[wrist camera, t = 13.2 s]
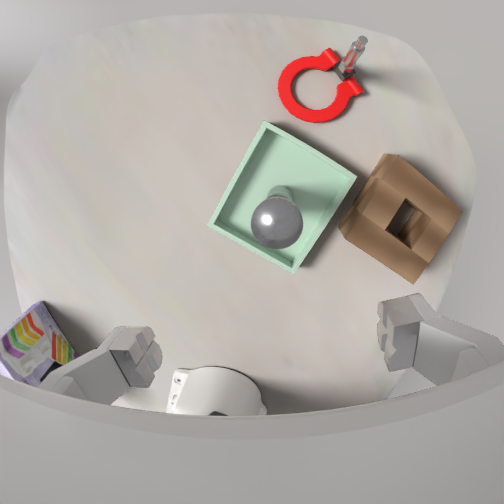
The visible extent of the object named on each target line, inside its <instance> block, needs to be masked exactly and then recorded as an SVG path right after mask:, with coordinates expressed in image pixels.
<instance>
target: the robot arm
mask: <svg viewBox="0 0 504 504" xmlns="http://www.w3.org/2000/svg"><path fill="white" fill-rule="evenodd" d="M378 315H379V317H380V321H379V322H378V324H377V336H378V342H379V346H380V349H381V350H382V351H384V352H385V355H384V360H385V362H386V365H387V367H388V370H389V372H391V371H396V370H401V369H406V368H410V367H413V369H415V370H416V371H418V372H419V373H420V374H422V375H423V376H424V377H426V378H427V379H429V380H430V381H431V382H433V383H434V384H436V385H437V386H436V387H432V388H429V389H426V390H422V391H419V392H415V393H411V394H407V395H403V396H399V397H395V398H391V399H387V400H382V401H377V402H372V403H367V404H362V405H356V406H350V407H344V408H337V409H330V410H322V411H314V412H304V413H293V414H279V415H267V408H266V407H265V406H264V404H263V403H262V400H261V393H260V391H259V389H258V387H257V386H256V385H255V384H254V383H253V382H252V381H251V380H250V379H249V378H247V377H246V376H244V375H242V374H240V373H238V372H236V371H233V370H230V369H226V368H220V367H203V368H198V369H194V370H187V369H177V370H175V372H174V375H173V380H172V385H171V390H170V395H169V400H168V405H167V410H166V412H167V413H162V412H153V411H145V410H137V409H130V408H124V407H117V406H112V405H110V404H112V403H113V402H114V401H115V400H116V399H118V398H119V397H120V396H121V395H123V394H124V393H125V392H126V391H127V390H129V389H130V387H139V388H149V386H150V385H151V383H152V381H153V379H154V377H155V375H154V372H155V371H156V370H158V369H159V368H160V366H161V364H162V351H161V348H160V346H159V345H158V344H157V343H156V342H155V341H154V338H155V335H154V333H153V330H152V329H151V328H150V327H148V326H142V327H126V326H125V327H115V328H114V329H113V330H112V332H111V333H110V334H109V335H108V336H107V338H106V339H105V340H104V341H103V342H102V343H101V345H100V346H99V347H98V348H97V349H93V350H91V351H90V352H88V353H86V354H84V355H82V356H80V357H78V358H76V359H74V360H73V361H71V362H69V363H67V364H65V365H63V366H61V367H59V368H58V369H56V370H54V371H52V372H50V373H49V374H48V376H47V377H46V378H45V379H44V380H43V381H42V383H41V384H40V385H39V386H38V387H34V386H31V385H28V384H25V383H22V382H19V381H16V380H13V379H11V378H8V377H5V376H3V375H0V504H504V345H503V344H502V343H501V341H500V340H499V339H498V338H497V337H495V336H492V335H490V334H487V333H485V332H482V331H480V330H477V329H474V328H472V327H469V326H467V325H464V324H462V323H459V322H456V321H454V320H451V319H449V318H446V317H443V316H442V317H438V315H437V314H436V313H435V311H434V310H433V309H432V307H431V306H430V305H429V303H428V302H427V301H426V300H425V298H424V297H423V296H422V295H421V294H420V293H416V294H412V295H408V296H405V297H400V298H396V299H391V300H386V301H382V302H379V303H378Z"/></svg>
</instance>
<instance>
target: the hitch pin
mask: <svg viewBox="0 0 504 504" xmlns="http://www.w3.org/2000/svg"><path fill="white" fill-rule="evenodd" d="M251 230H252V233H253V235H254V237H255V238H256V239H257V241H258V242H259V243H261V244H262V245H264V246H265V247H268V248H271V249H284V248H287V247H289V246H291V245H293V244H294V243H295V242H296V241H297V240H298V239H299V237H300V235H301V233H302V230H303V218H302V214H301V212H300V210H299V208H298V207H297V206H296V205H295V202H294V195H293V193H292V191H291V190H290V189H289V188H288V187H286V186H283V185H278V186H275V187H273V188H272V189H270V191H269V192H268V195H267V197H266V200H264V201H262V202H261V203H260V204H259V205H258V206H257V207H256V209H255V210H254V212H253V215H252V218H251Z"/></svg>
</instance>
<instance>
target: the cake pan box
mask: <svg viewBox="0 0 504 504" xmlns="http://www.w3.org/2000/svg"><path fill="white" fill-rule="evenodd" d="M78 357H79V356H78V355H77V354H76V352H75V351H74V349H73V348H72V347H71V345H70V344H69V342H68V341H67V339H66V338H65V336H64V335H63V333H62V332H61V330H60V329H59V327H58V326H57V324H56V323H55V321H54V320H53V318H52V316H51V315H50V313H49V311H48V310H47V308H46V306H45V305H44V303H43V302H42V301H40V302H38V303H35V304H33V305H32V306H31V307H30V308H29V309H28V310H27V311H25V312H24V313H23V314H22V315H21V316H20V317H19V318H18V319H16V320H15V321H14V322H13V323H12V324H11V325H10V326H9V327H8V328H7V329H6V330H5V331H4V332H3V333H2V334H1V335H0V372H1V373H2V374H3V376H5V377H8V378H11V379H13V380H16V381H19V382H22V383H25V384H28V385H31V386H34V387H38V386H39V385H40V384H41V383H42V381H43V380H44V379H45V378H46V377H47V376H48V374H49V373H50V372H52V371H54V370H56V369H58V368H59V367H61V366H63V365H65V364H67V363H69V362H71V361H73V360H74V359H76V358H78Z"/></svg>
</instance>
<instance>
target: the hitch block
mask: <svg viewBox="0 0 504 504" xmlns="http://www.w3.org/2000/svg"><path fill="white" fill-rule="evenodd" d="M403 201H406V202H407V203H408V204H409V205H411V206H412V207H413V208H414V209H415V210H414V212H413V213H412V215H411V217H410V218H409V220H408V221H407V223H406V224H405V226H404V227H403V229H402V230H401V232H400V233H399V235H398V236H396V235H395V234H393V233H392V232H391V231H389V230H388V229H386V227H387V226H388V224H389V223H390V221H391V220H392V218H393V217H394V215H395V214H396V212H397V211H398V209H399V207H400V206H401V204H402V203H403ZM461 213H462V211H461V210H460V209H459V208H458V207H457V206H456V205H455V204H454V203H453V202H452V201H451V200H450V199H449V198H448V197H447V196H446V195H445V194H443V193H442V192H441V191H440V190H439V189H438V188H437V187H436V186H435V185H433V184H432V183H431V182H430V181H429V180H428V179H427V178H425V177H424V176H423V175H422V174H421V173H420V172H418V171H417V170H416V169H415V168H414V167H412V166H411V165H410V164H409V163H407V162H406V161H405V160H404V159H402V158H401V157H400V156H399V155H392V154H383V156H382V157H381V159H380V161H379V162H378V164H377V166H376V167H375V169H374V171H373V172H372V174H371V176H370V177H369V179H368V180H367V182H366V184H365V185H364V187H363V189H362V190H361V192H360V193H359V195H358V196H357V198H356V200H355V201H354V203H353V204H352V206H351V207H350V209H349V211H348V212H347V214H346V215H345V217H344V218H343V220H342V221H341V223H340V224H339V226H338V228H339V229H340V231H341V233H342V234H343V236H344V238H345V239H346V240H347V241H349V242H351V243H352V244H354V245H355V246H357V247H358V248H360V249H361V250H363V251H364V252H366V253H367V254H369V255H370V256H372V257H374V258H375V259H377V260H378V261H380V262H381V263H382V264H384V265H385V266H387V267H388V268H390V269H391V270H393V271H394V272H396V273H397V274H399V275H400V276H402V277H403V278H404V279H406V280H407V281H409V282H410V283H412V284H414V283H415V282H416V280H417V279H418V278H419V276H420V275H421V274H422V272H423V271H424V270H425V268H426V267H427V265H428V264H429V262H430V261H431V260H432V258H433V257H434V255H435V254H436V252H437V251H438V249H439V248H440V246H441V245H442V243H443V242H444V240H445V239H446V237H447V236H448V234H449V233H450V231H451V229H452V228H453V226H454V225H455V223H456V221H457V220H458V218H459V216H460V215H461Z"/></svg>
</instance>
